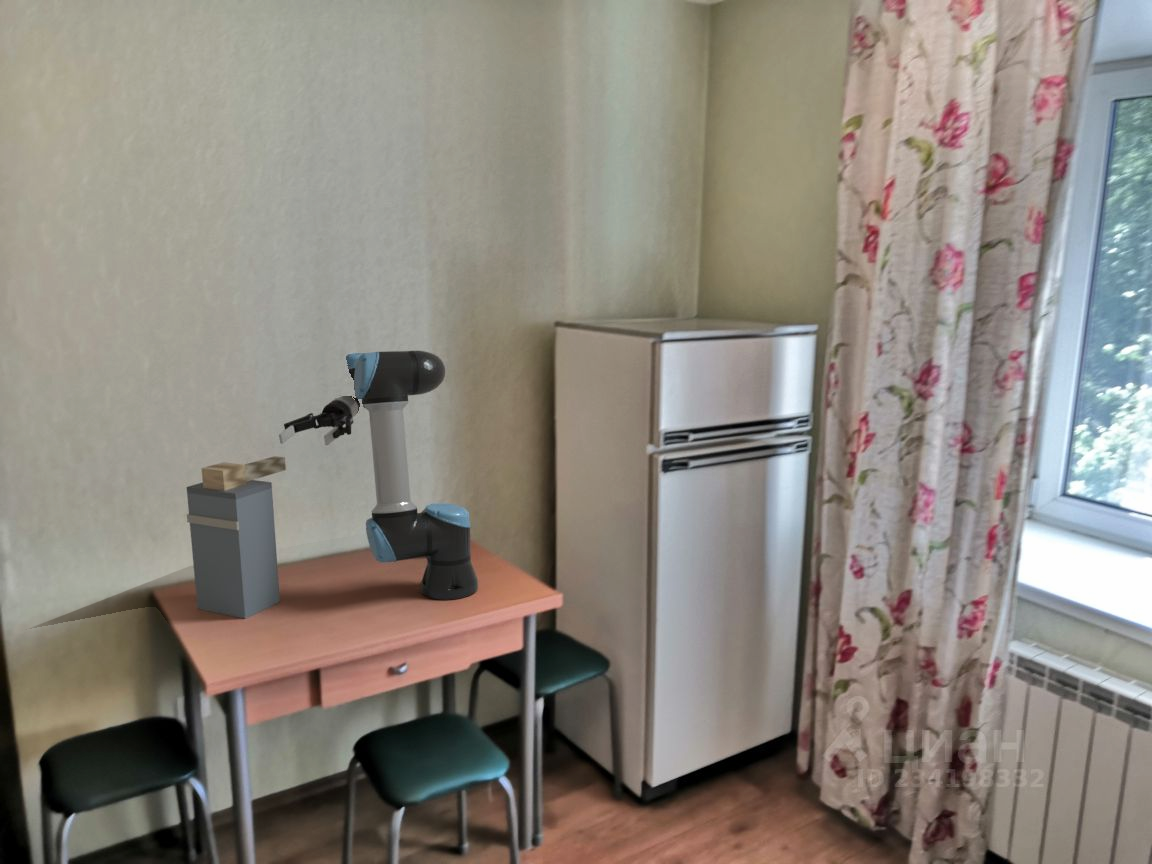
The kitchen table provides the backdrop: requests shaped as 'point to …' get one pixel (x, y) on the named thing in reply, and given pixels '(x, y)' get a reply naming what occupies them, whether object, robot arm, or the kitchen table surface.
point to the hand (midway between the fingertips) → (303, 439)
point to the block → (239, 473)
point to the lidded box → (234, 548)
